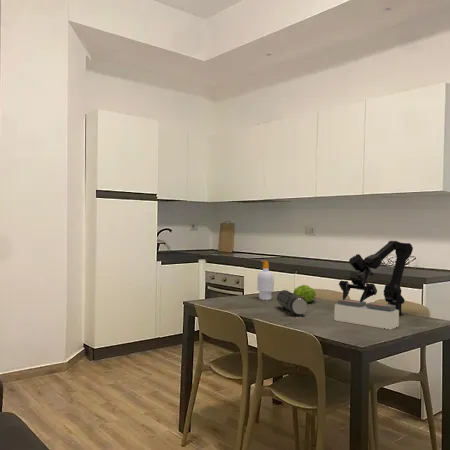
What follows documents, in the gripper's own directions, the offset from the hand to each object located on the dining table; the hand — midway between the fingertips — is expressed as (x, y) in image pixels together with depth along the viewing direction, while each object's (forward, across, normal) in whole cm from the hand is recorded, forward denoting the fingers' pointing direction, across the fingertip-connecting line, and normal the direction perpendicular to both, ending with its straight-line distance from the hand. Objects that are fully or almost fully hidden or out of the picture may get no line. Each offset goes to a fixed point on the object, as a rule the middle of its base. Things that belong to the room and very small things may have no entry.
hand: (351, 300), depth 237 cm
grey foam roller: (+8, -35, +7) cm, 37 cm away
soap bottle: (-8, -71, +23) cm, 75 cm away
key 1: (+1, 0, +1) cm, 2 cm away
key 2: (+1, +15, +1) cm, 15 cm away
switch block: (+7, +8, +7) cm, 13 cm away
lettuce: (-17, -50, +32) cm, 62 cm away
